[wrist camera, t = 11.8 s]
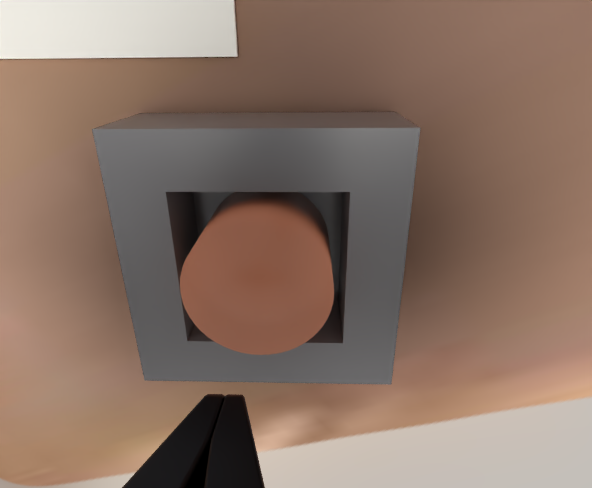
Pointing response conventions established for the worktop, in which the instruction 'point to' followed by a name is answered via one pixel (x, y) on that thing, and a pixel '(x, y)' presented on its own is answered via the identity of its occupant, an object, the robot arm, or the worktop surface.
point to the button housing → (263, 178)
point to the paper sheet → (117, 28)
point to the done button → (260, 273)
